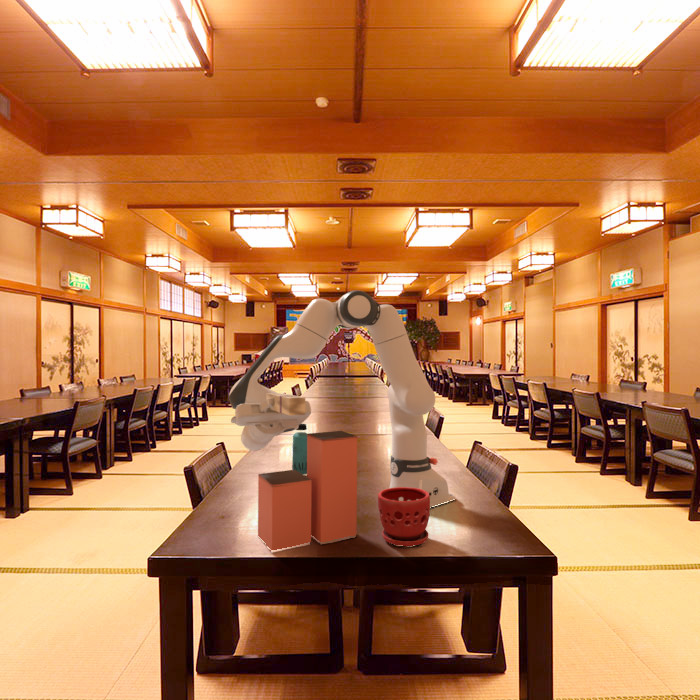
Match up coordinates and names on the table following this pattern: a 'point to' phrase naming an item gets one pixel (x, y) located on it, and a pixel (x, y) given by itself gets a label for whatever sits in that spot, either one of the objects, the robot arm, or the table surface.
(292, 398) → the box
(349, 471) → the stand
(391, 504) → the plant pot
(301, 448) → the beverage bottle
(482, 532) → the table surface
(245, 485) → the table surface
